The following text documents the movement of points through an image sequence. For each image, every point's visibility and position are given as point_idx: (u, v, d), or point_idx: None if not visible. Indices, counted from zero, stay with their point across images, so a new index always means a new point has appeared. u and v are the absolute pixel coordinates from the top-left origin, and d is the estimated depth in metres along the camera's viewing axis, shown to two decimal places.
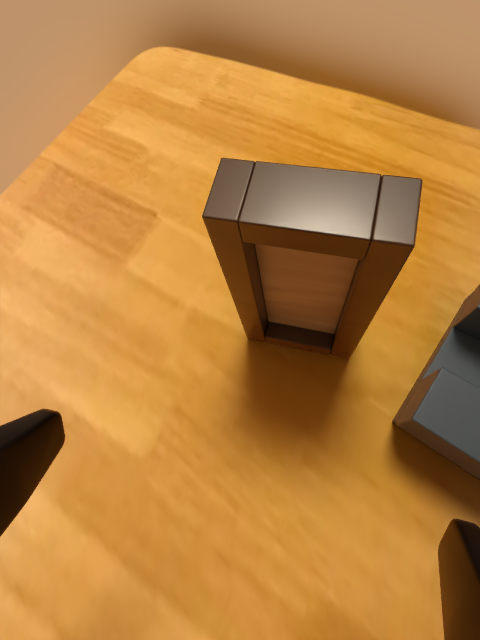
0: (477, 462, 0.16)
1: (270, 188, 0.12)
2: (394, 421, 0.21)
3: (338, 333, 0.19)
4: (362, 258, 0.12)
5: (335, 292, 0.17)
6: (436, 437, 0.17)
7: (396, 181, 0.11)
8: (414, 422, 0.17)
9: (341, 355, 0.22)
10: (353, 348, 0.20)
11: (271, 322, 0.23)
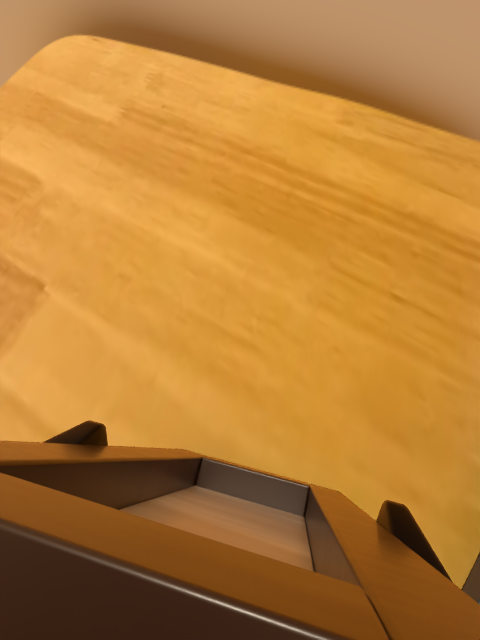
0: None
1: None
2: None
3: None
4: None
5: None
6: None
7: None
8: None
9: None
10: None
11: None
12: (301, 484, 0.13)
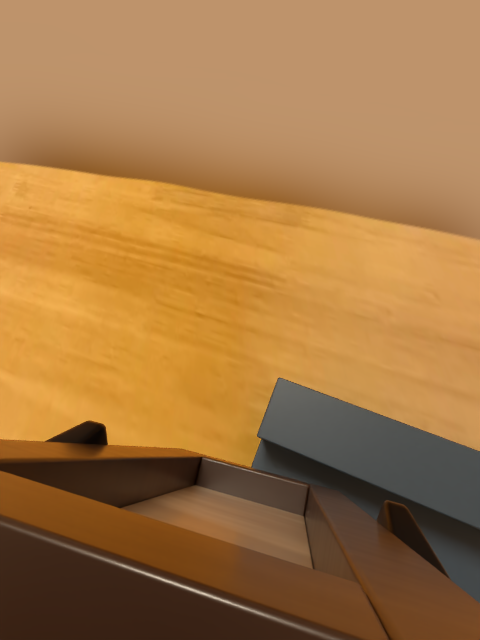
0: None
1: None
2: None
3: None
4: None
5: None
6: None
7: None
8: None
9: None
10: None
11: None
12: (301, 483, 0.13)
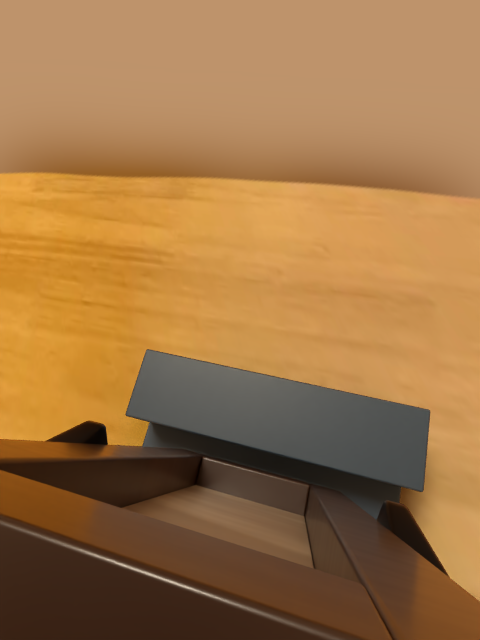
0: None
1: None
2: None
3: None
4: None
5: None
6: None
7: None
8: None
9: None
10: None
11: None
12: (301, 483, 0.13)
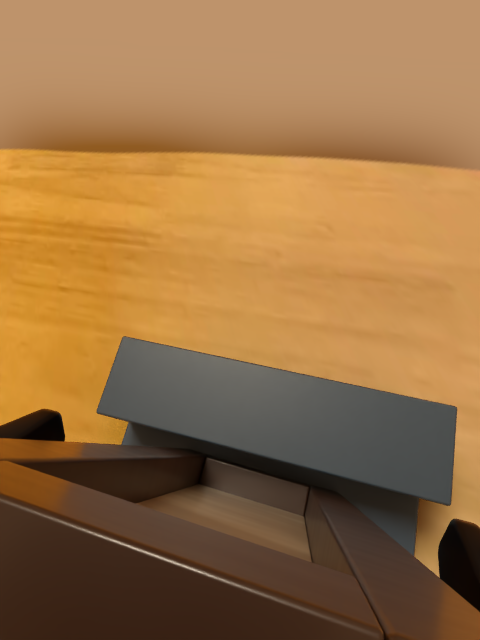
0: None
1: None
2: None
3: None
4: None
5: None
6: None
7: None
8: None
9: None
10: None
11: None
12: (301, 485, 0.13)
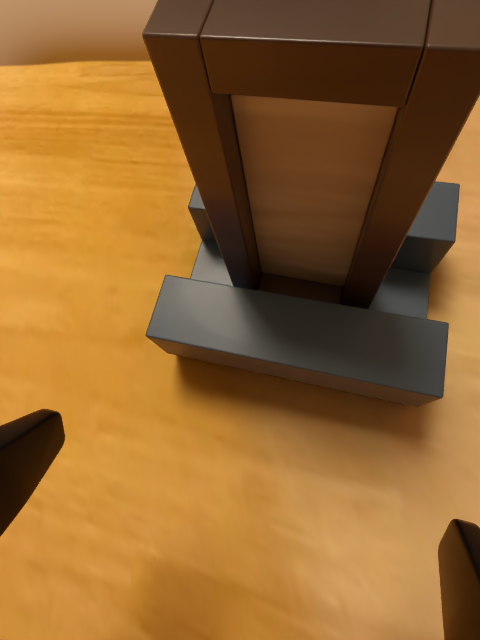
0: (214, 351, 0.16)
1: None
2: None
3: (351, 276, 0.14)
4: (402, 102, 0.07)
5: (349, 211, 0.12)
6: (175, 344, 0.16)
7: None
8: (150, 338, 0.16)
9: None
10: (369, 301, 0.16)
11: (265, 273, 0.18)
12: None
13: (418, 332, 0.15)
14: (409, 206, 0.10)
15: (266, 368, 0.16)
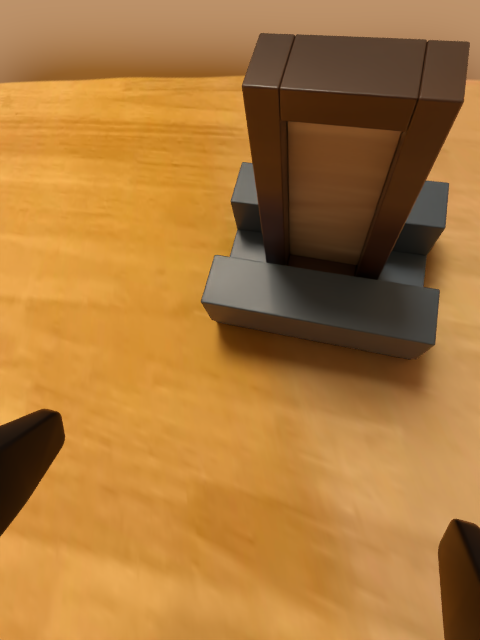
0: (256, 313, 0.20)
1: (311, 57, 0.12)
2: None
3: (364, 253, 0.19)
4: (405, 129, 0.12)
5: (365, 202, 0.17)
6: (224, 308, 0.20)
7: (442, 45, 0.11)
8: (204, 304, 0.20)
9: None
10: (378, 274, 0.20)
11: (293, 255, 0.23)
12: None
13: (416, 296, 0.19)
14: (409, 196, 0.14)
15: (296, 328, 0.21)
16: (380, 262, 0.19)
